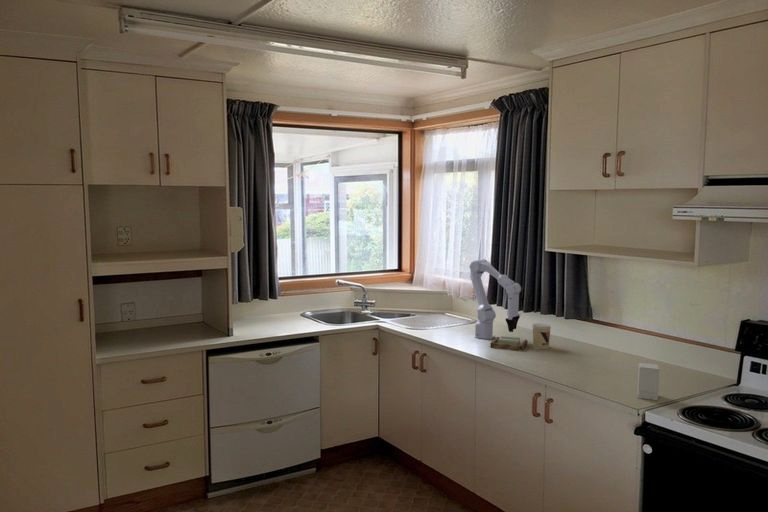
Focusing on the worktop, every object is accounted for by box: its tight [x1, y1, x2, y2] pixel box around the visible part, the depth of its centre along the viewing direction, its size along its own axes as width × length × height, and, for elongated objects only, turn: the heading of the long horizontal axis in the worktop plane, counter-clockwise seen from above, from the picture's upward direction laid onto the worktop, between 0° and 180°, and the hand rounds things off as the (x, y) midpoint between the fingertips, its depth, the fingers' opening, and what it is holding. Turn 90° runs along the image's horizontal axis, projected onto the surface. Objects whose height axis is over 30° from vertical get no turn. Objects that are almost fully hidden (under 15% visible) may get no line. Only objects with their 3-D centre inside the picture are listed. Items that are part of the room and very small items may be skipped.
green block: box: [498, 335, 521, 345], centre depth 322 cm, size 10×8×4 cm
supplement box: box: [636, 362, 660, 401], centre depth 241 cm, size 7×7×13 cm
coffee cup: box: [532, 323, 552, 350], centre depth 320 cm, size 9×9×12 cm
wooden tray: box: [489, 336, 528, 351], centre depth 323 cm, size 16×15×2 cm
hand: (512, 330), depth 329 cm, fingers open, 7 cm apart
